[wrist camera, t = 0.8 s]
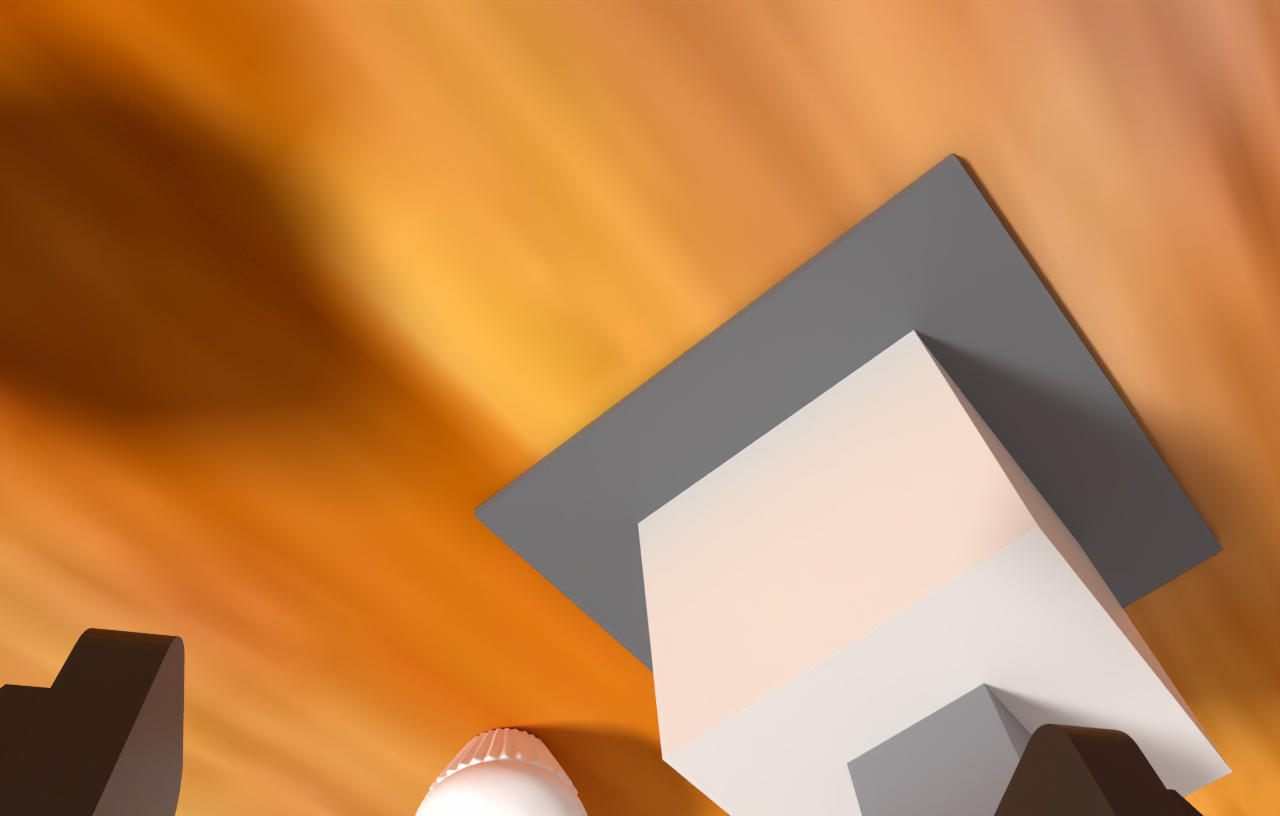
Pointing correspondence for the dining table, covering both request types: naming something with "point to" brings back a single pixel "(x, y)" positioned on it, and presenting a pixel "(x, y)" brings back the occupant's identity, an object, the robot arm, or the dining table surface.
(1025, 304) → the mat
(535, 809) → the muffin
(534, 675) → the dining table surface
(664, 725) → the cover
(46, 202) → the dining table surface
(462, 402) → the dining table surface
